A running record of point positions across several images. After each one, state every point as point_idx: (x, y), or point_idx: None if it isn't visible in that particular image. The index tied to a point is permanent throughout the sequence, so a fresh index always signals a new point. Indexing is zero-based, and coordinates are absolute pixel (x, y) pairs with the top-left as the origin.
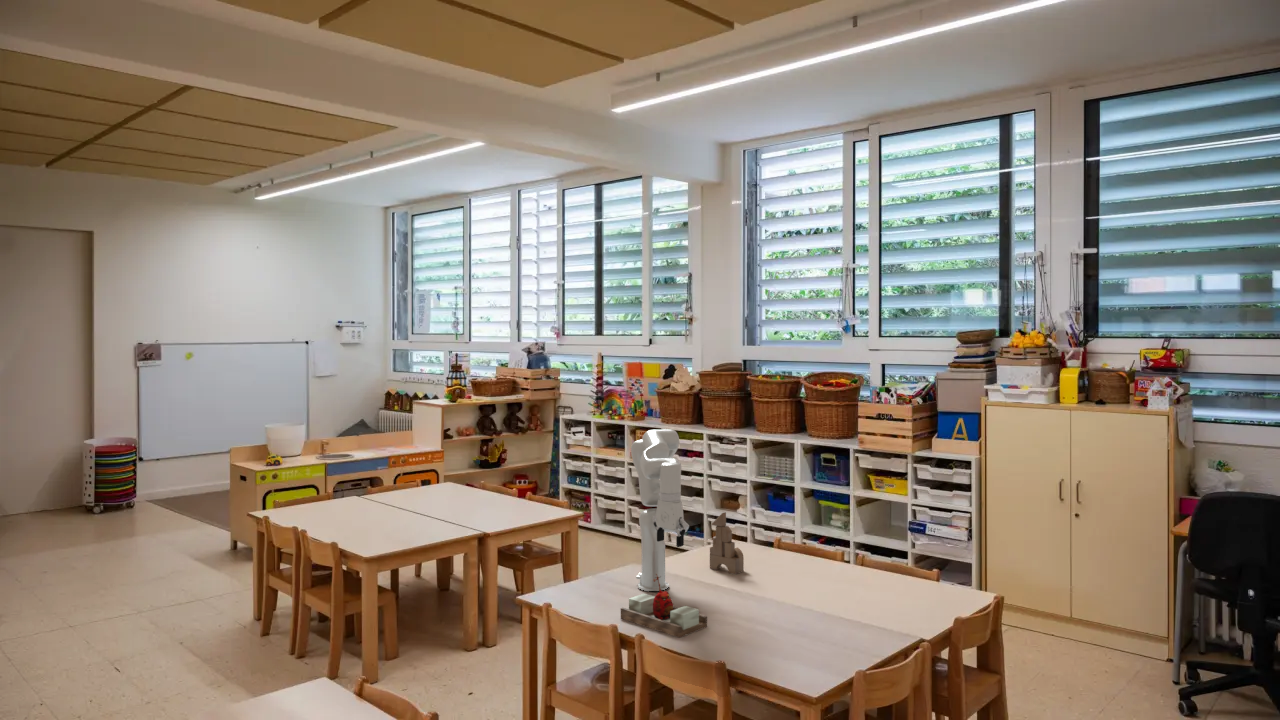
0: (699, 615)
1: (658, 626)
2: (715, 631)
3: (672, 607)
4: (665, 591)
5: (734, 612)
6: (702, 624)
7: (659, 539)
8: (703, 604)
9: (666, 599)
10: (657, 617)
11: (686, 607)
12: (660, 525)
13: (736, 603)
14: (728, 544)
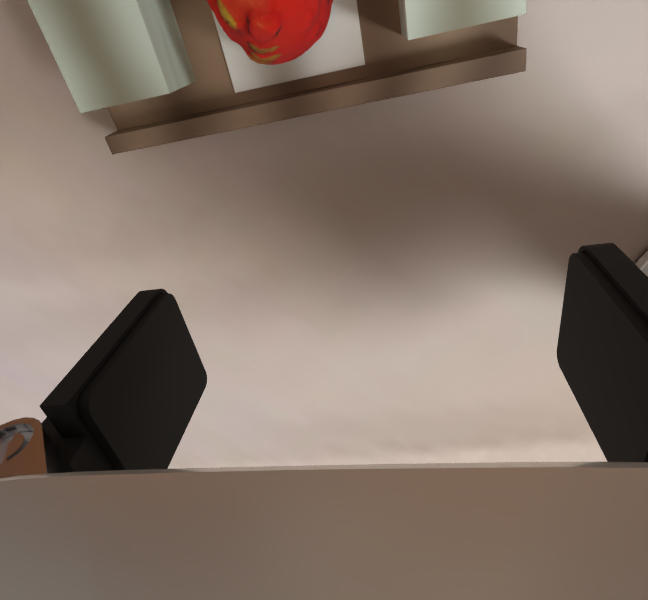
0: (139, 134)
1: None
2: (67, 133)
3: (223, 30)
4: (258, 16)
5: (231, 323)
6: (110, 111)
7: (580, 286)
8: (369, 299)
9: None
10: None
11: (137, 75)
12: (582, 524)
13: (305, 380)
14: None
